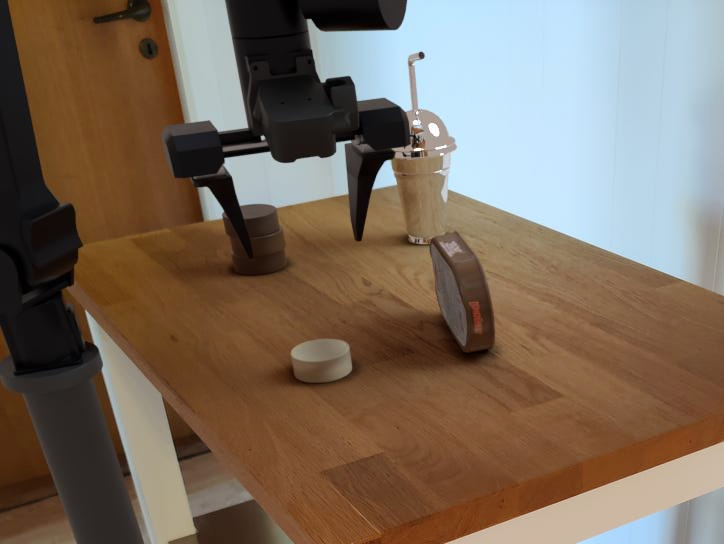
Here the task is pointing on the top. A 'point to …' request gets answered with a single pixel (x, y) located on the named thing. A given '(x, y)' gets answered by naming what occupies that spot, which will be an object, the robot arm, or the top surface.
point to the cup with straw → (423, 169)
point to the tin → (463, 292)
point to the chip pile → (258, 241)
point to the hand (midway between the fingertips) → (305, 249)
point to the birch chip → (321, 360)
